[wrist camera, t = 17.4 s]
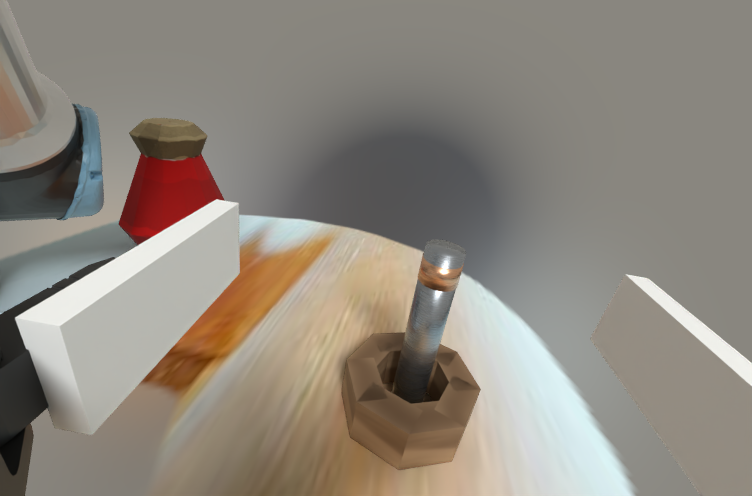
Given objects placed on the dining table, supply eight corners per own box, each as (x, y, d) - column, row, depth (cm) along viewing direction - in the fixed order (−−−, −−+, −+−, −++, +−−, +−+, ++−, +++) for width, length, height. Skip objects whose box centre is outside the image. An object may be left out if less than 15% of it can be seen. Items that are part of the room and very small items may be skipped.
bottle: (175, 286, 47) (158, 135, 39) (102, 259, 51) (72, 114, 42) (250, 246, 61) (249, 128, 53) (188, 226, 64) (179, 112, 56)
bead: (336, 367, 39) (340, 335, 37) (435, 360, 42) (443, 330, 40) (358, 476, 28) (365, 440, 26) (486, 455, 32) (501, 422, 30)
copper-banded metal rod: (384, 396, 36) (419, 238, 28) (413, 393, 37) (455, 239, 29) (393, 424, 33) (435, 257, 26) (425, 420, 34) (474, 258, 27)
